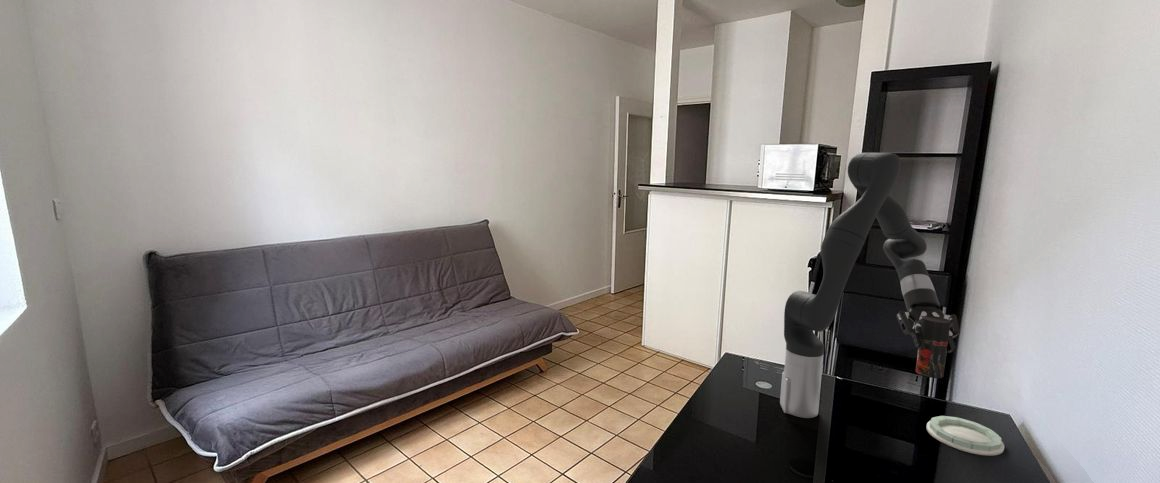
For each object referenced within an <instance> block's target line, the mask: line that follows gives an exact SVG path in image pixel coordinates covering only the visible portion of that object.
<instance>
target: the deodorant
mask: <svg viewBox="0 0 1160 483" xmlns="http://www.w3.org/2000/svg"><path fill="white" fill-rule="evenodd" d="M950 324H951V321H950V320H948V319H945V318H941V317H936V316H923V317H922V323H921V332H920V334H922V337H923V340H924V344H925V348H924V349H923V350H919V349H918V348H917V356H916V358H917V359H916V365H915V373H917V374H918V375H920V376H923V377H927V378H931V379H943V378H944V374H945V368H946V367H945V366H946V359H947V354H948V352H947V346H948V338H949V331H950Z"/></svg>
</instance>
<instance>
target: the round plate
mask: <svg viewBox="0 0 1160 483" xmlns="http://www.w3.org/2000/svg"><path fill="white" fill-rule="evenodd" d="M926 431H927V433H928V434H929V435H930V436H932V438H934V439H935V440H937V441H939V442H940V443H943V444H944V445H946V446H949V447H950V448H954V449H956V450H959V451H962V452H966V453H969V454H974V455H978V456H988V457H989V456H991V457H992V456H993V457H994V456H998V455H1002V454H1003V453H1004V451H1005V444H1004V442H1003V441H1002V437H1001V436H999V434H998V433H996V432H995V431H994V430H992V429H991V428H988V427H987V426H984V425H983V424H980V423H977V422H975V421H972V420H969V419H964V418H961V417H957V416H948V415H947V416H946V415H939V416H934V417H931V419H930V420H929V421H928V422H927V423H926Z"/></svg>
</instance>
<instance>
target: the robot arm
mask: <svg viewBox="0 0 1160 483" xmlns="http://www.w3.org/2000/svg"><path fill="white" fill-rule="evenodd" d="M901 167H902V162H901V158H900V156H898V155H897V154H896V153H891V152H860V153H856V154H855V155H853V156H852V158H851V159H850V160H849V162H848V166H847V175H848V178H849V180H850V182H851V184H852V185H853V187H854V188H855V190H856V191H857V192H858V193H859V195H860V196H861V197H860V198H859V199H858V200H857V201H856V202H855V203H854V204H852V205H851V206H850V207H848V208H847V209H846V210H845V211H843V212H842V213H841V214H839V215H838V216H837V217H836V218H835V219H834V220H833V221H831V223H830V225H829V226H828V229H827V231H826V233H825V235H824V237H823V240H822V242H821V245H820V246H821V247H820V254H821V256H820V257H821V263H822V270H823V276H822V280H821V283H820V286H819V287H818V288H819V289H818V291H817V293H816V294H815V293H814V294H813V293H812V292H808V291H803V290H797V291H794V292H792V293H791V294H790V295H789V296H788V297H787V300H786V302H785V306H784V312H783V313H784V316H783V337H784V341H785V357H784V369H783V370H784V371H782V373H781V385H780V397H779V403H780V404H779V405H780V407H781V408H782V412H783V413H784V414H788V415H791V416H795V417H799V418H803V419H812V418H815V417H817V416H818V415H819V410H820V396H821V395H820V394H821V384H822V373H823V363H824V362H823V361H824V351H825V345H824V342H823V341H822V340H820V338H818V336H817V335H816V334H815V332H816V333H819V332H821V333H822V332H823V331H826V330H827V329H829V327H830V326H831V324H832V322H833V321H834V319H835V316H836V313H837V311H838V308H839V304H840V302H841V299H842V295H843V293H844V290H845V287H846V285H847V282H848V280H849V278H850V274H851V272H852V269H853V267H854V266H855V263H856V262H857V259H858V257H859V255H860V253H861V251H862V249H863V246H864V245H865V242H866V240H867V237H868V235H869V233H870V231H871V229H872V226H873V224H874V221H875V219H877V221H878V224H879V227H880V229H881V230H882V234H883V235H884V236H885V237H886V238H887V239H886V240H885V241H884V243H883V247H882V248H883V253H884V254H885V255H886V257H887V258H888V259H889V261H890V263H892V265H893V266H894V268H895V270H896V272H897V275H898V276H897V277H898V279H899V283H900V288H901V294H902V296H903V300H904V304H905V308H906V310H907V311H904V310H899V312H898V313H897V314H896V316H895V317H896V319H897V321H898V324H899V326H900V329H901V330H902V333H903V334H904V335H909V336H911V337H912V339H913V342H914V346H915V347H916V348H917V350H918V349H919V350H923V349H924V348H925V344H924V340H923V337H922V334H920V332H921V323H922V317H923V316H936V317H941V318H945V319H948V320H950V321H951V324H950V331H949V338H948V346H947V353H952V352H953V351H954V350H955V349H956V344H955V341H954V339H955V338H956V337H957V336H959V335H960V333H961V332H960V327H959V321H958V317H957V316H958V315H956V314H954V313H952V314H951V315H950V314H945V313H944V312H943V311H942V310H941V304H940V302H939V299H938V296H937V292H936V290H935V287H934V285H933V282H932V280H931V278H930V275H929V273H928V270H927V267H926V264H925V263H924V262H923V260H921V259H916V258H915V257H920V256H922V255H924V254H926V251H927V248H928V246H927V242H926V240H925V239H924V237H923V236H922V235H921V234H920V233H919V232H918V231H917V230H916V229H915V228H914V227H913V226H912V225H911V223H910V220H909V218H908V214H907V213H906V211H905V209H904V208H903V206H902V205H901V204H900V203H899V202H898V201H897V200H895V199H894V198H893V197H892V196H891V195H890V193H891V191H892V189H893V188H894V186H895V184H896V182H897V180H898V178H899V176H900V173H901ZM909 319H910V320H911V321H912V322H913V326H911V323H910V321H909Z"/></svg>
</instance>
